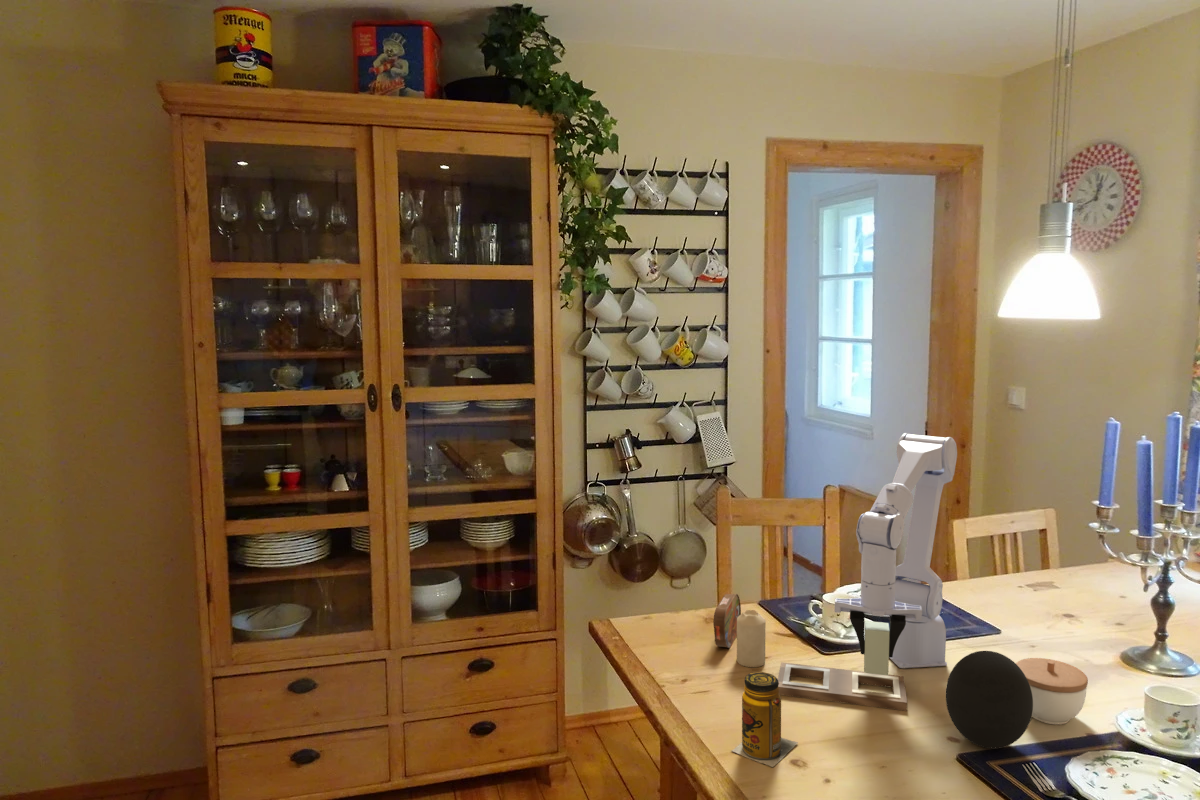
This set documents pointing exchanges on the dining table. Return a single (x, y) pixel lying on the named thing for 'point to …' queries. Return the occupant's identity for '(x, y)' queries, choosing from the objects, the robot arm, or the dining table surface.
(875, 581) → the robot arm
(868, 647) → the peg
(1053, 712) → the lidded jar
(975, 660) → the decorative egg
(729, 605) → the tin
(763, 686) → the condiment
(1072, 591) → the dining table surface
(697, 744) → the dining table surface
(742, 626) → the candle
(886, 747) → the dining table surface
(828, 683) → the socket board
